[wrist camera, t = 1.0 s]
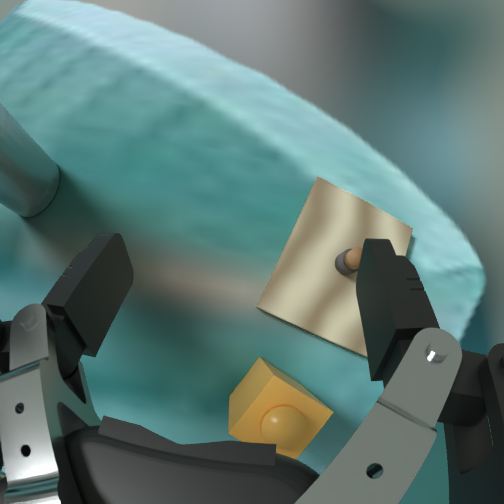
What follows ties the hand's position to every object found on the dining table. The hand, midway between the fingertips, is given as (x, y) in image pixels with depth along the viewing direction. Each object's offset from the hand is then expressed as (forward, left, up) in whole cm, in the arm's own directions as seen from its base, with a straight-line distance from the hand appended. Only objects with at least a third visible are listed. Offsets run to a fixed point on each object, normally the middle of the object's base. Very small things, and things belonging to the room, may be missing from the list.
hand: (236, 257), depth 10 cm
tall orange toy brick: (+7, -7, -24) cm, 26 cm away
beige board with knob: (+9, +9, -24) cm, 28 cm away
